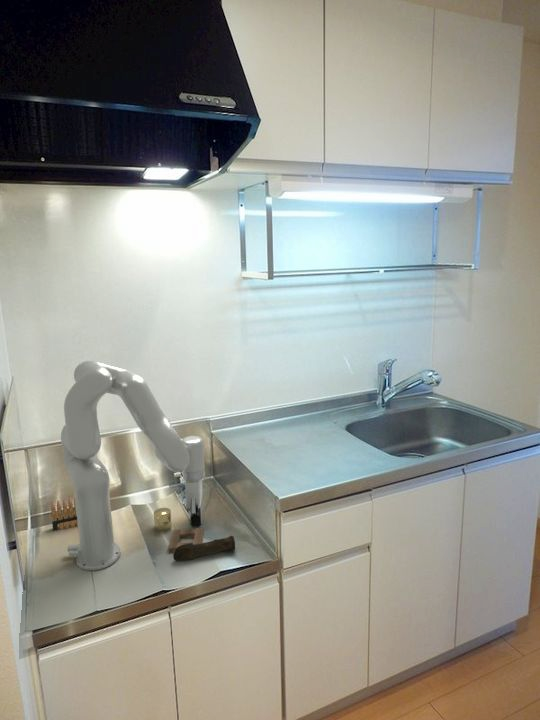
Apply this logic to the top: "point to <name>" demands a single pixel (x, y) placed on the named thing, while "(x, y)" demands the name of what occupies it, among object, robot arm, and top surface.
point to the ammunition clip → (63, 515)
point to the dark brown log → (203, 548)
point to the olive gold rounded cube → (162, 519)
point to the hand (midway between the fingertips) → (196, 521)
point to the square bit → (199, 512)
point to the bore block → (185, 533)
